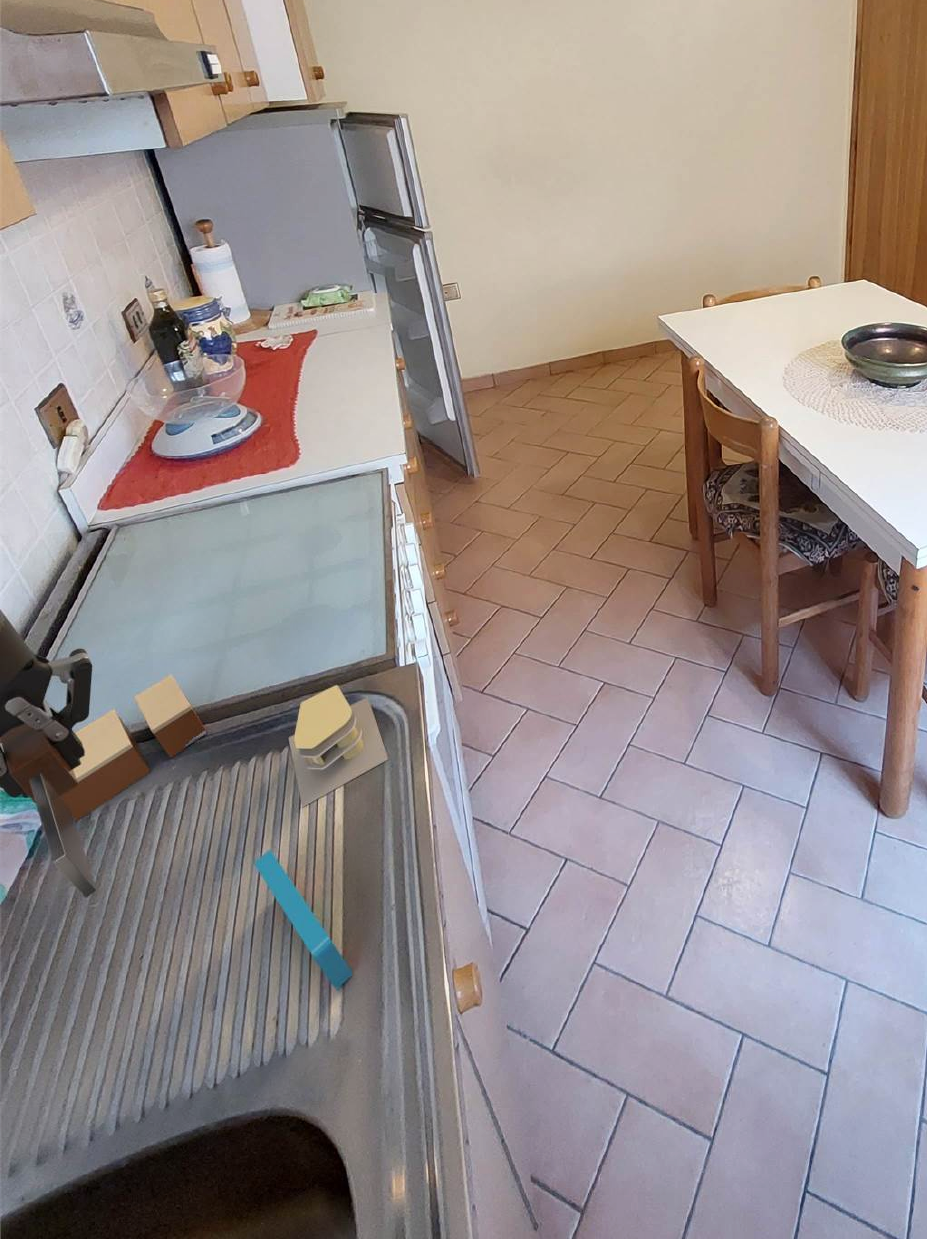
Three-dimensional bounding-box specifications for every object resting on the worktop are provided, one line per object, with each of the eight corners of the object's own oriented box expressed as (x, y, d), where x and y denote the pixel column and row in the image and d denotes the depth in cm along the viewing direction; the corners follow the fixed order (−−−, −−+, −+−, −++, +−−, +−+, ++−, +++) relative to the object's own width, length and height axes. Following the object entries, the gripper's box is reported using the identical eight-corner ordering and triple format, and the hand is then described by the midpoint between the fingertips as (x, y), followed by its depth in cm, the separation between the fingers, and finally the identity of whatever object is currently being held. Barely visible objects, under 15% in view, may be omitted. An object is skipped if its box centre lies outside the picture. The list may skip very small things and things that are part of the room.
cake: (77, 820, 77) (53, 792, 74) (62, 781, 81) (39, 753, 78) (150, 771, 81) (130, 743, 79) (133, 736, 85) (113, 708, 83)
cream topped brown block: (170, 758, 82) (151, 730, 80) (152, 724, 87) (133, 696, 84) (208, 733, 85) (190, 705, 82) (188, 701, 89) (171, 673, 87)
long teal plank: (276, 896, 68) (252, 860, 65) (292, 883, 69) (268, 847, 66) (337, 992, 61) (313, 956, 58) (354, 975, 62) (330, 939, 59)
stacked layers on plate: (288, 737, 83) (271, 706, 81) (367, 696, 87) (354, 665, 85) (302, 807, 76) (283, 775, 73) (388, 759, 80) (374, 727, 77)
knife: (69, 910, 55) (36, 874, 52) (27, 767, 66) (-2, 732, 63) (112, 879, 56) (81, 843, 54) (64, 745, 68) (37, 710, 65)
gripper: (42, 569, 63) (130, 700, 72) (-184, 674, 55) (-54, 808, 63) (59, 609, 59) (151, 744, 67) (-185, 731, 50) (-44, 868, 58)
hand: (51, 774), depth 65 cm, fingers closed on knife, 3 cm apart
